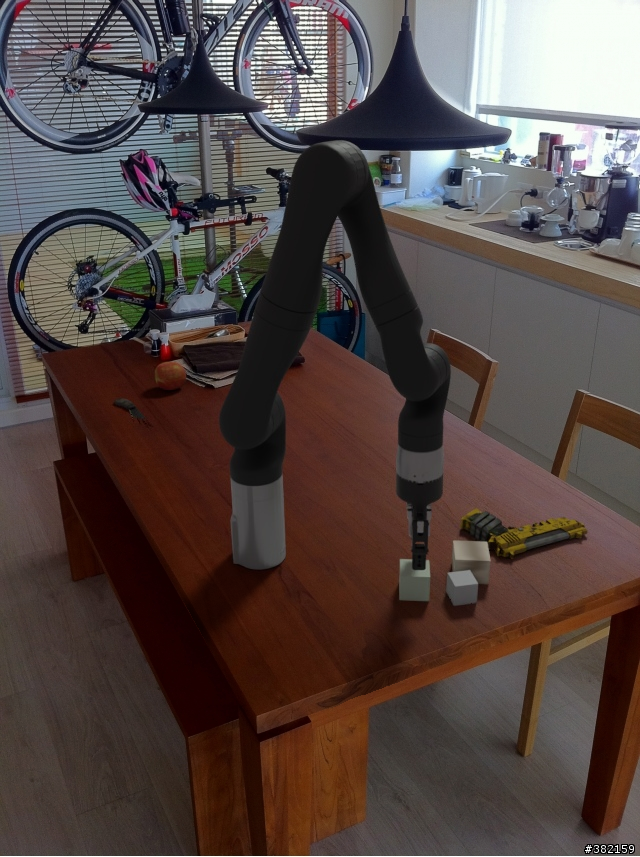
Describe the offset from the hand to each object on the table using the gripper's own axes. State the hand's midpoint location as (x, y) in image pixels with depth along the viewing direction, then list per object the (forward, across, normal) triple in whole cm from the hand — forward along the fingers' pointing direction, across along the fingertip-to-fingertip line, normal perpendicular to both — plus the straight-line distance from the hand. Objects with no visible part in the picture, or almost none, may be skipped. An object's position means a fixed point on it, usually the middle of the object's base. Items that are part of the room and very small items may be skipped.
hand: (418, 554), depth 132 cm
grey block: (+8, +1, +7) cm, 11 cm away
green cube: (+8, 0, -1) cm, 8 cm away
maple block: (+8, -6, +10) cm, 14 cm away
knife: (+6, -69, -70) cm, 99 cm away
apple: (+6, -90, -66) cm, 112 cm away
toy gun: (+9, -21, +21) cm, 31 cm away
